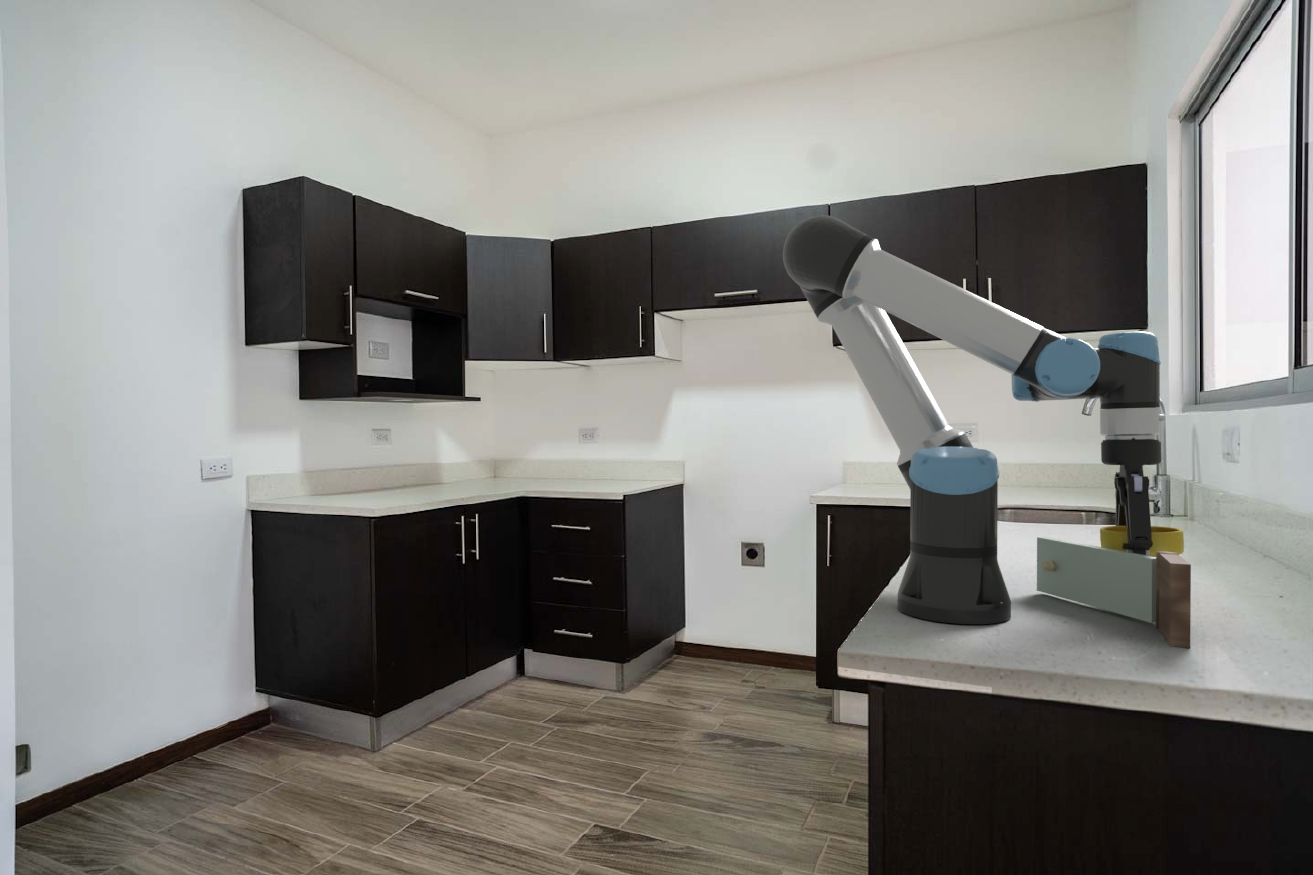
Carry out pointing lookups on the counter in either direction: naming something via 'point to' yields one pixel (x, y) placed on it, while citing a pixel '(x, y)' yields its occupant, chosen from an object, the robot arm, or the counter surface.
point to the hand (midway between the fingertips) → (1133, 588)
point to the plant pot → (1161, 538)
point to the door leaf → (1098, 577)
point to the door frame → (1173, 598)
